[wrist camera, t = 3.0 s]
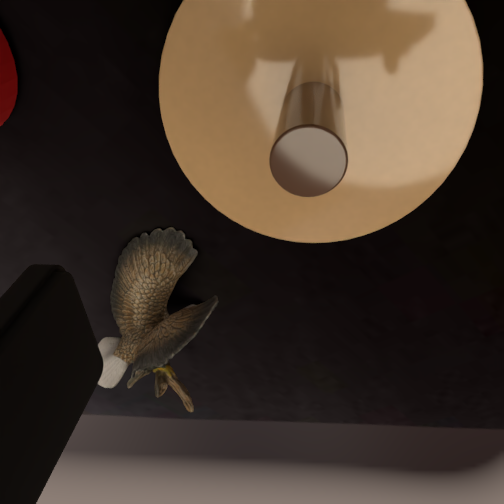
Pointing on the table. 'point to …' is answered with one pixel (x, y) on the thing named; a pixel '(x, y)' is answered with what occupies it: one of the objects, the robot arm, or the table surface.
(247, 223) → the lid
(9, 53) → the soda can
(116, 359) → the eagle figurine
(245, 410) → the table surface
